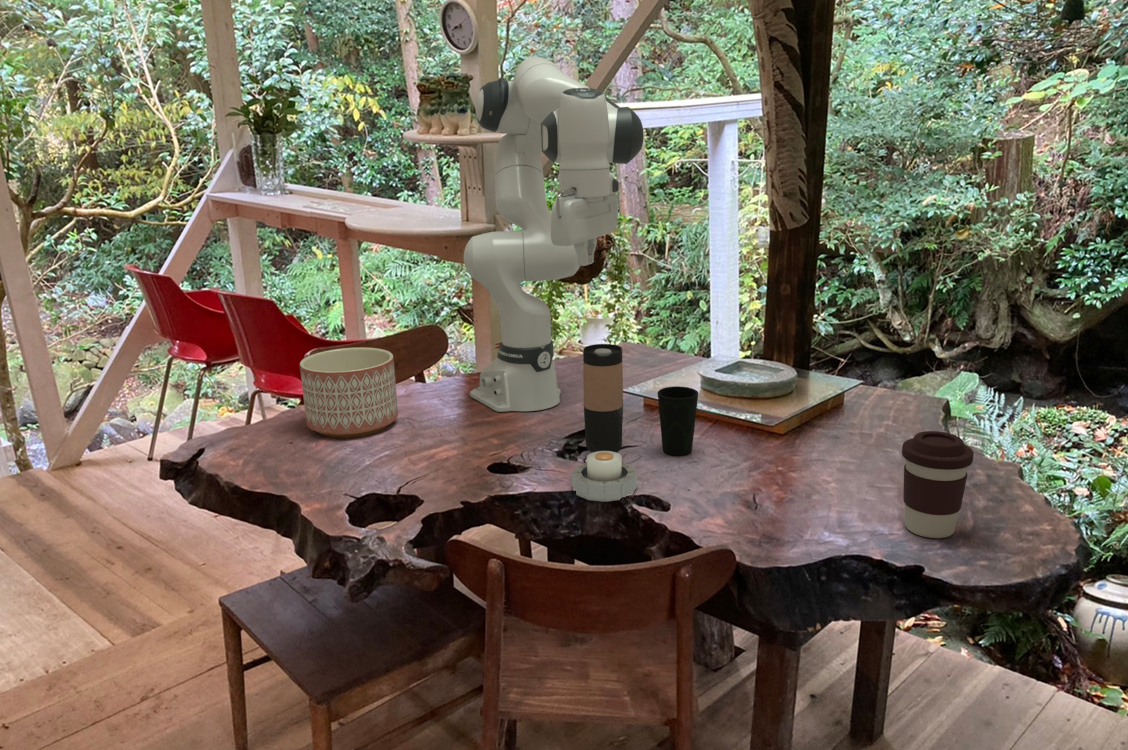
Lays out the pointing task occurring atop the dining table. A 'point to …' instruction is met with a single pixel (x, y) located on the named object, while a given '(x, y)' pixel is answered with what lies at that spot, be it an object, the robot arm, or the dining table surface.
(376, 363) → the planter
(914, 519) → the coffee cup
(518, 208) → the robot arm
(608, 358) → the travel mug
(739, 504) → the dining table surface
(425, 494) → the dining table surface
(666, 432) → the cup
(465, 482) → the dining table surface
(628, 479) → the stone fire pit ring
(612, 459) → the jar
